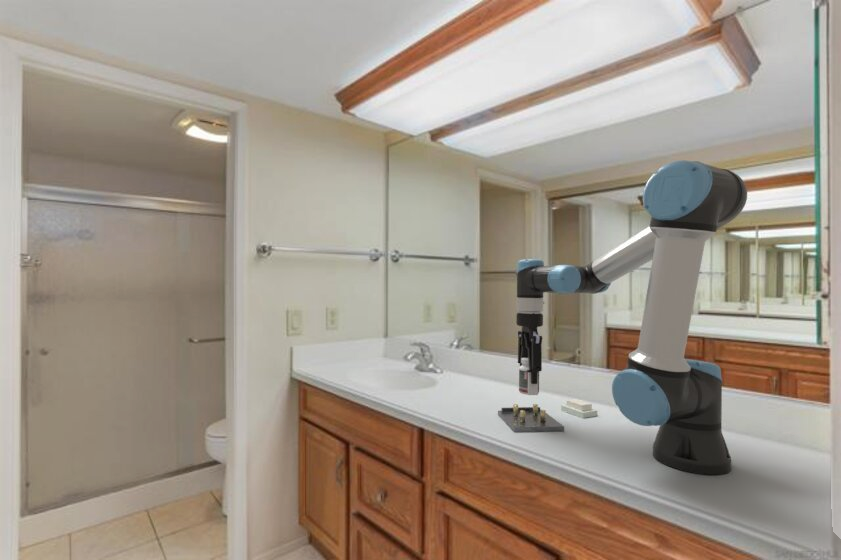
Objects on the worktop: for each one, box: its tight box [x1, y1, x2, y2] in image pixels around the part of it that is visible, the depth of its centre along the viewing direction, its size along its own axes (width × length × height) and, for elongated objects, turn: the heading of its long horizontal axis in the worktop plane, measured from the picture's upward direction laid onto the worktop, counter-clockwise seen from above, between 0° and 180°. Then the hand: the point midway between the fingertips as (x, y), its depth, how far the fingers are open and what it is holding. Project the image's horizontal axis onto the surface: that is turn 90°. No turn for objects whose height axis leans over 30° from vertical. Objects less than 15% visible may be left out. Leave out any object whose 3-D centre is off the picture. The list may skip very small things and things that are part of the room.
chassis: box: [497, 403, 565, 433], centre depth 125 cm, size 16×14×4 cm
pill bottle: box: [518, 358, 540, 396], centre depth 125 cm, size 6×6×10 cm
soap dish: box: [560, 398, 598, 419], centre depth 135 cm, size 9×6×3 cm, turn 26°
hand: (528, 391), depth 125 cm, fingers closed on pill bottle, 6 cm apart
